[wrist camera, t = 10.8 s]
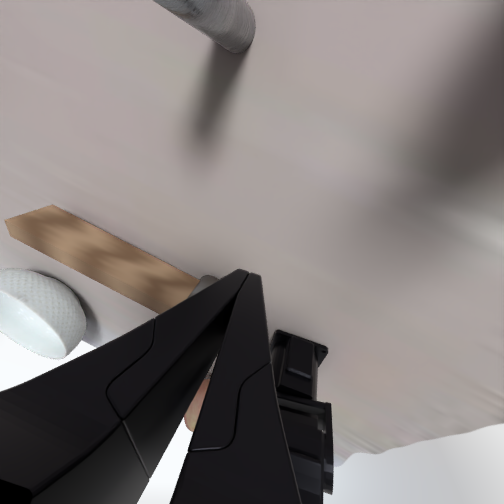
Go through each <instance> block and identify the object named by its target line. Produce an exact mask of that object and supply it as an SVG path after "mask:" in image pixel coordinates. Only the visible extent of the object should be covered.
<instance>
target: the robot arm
mask: <svg viewBox="0 0 504 504" xmlns="http://www.w3.org/2000/svg"><path fill="white" fill-rule="evenodd" d="M217 354H218V356H217ZM327 354H328V348H327V347H326V346H323V345H320V344H317V343H314V342H312V341H309V340H306V339H303V338H301V337H298V336H295V335H292V334H289V333H287V332H284V331H281V330H276V332H275V334H274V337H273V339H272V342H271V345H270V344H269V336H268V328H267V320H266V312H265V304H264V296H263V288H262V280H261V276H260V275H258V274H255V273H249V272H248V271H245V270H242V269H237V270H235V271H233V272H232V273H230V274H228V275H227V276H225V277H223V278H221V279H220V280H218V281H216V282H214V283H213V284H211V285H209V286H208V287H206V288H204V289H202V290H201V291H199V292H197V293H196V294H194V295H192V296H190V297H189V298H187V299H185V300H184V301H182V302H180V303H178V304H177V305H175V306H173V307H172V308H170V309H168V310H166V311H165V312H163V313H161V314H160V315H158V316H156V317H155V319H154V318H153V319H151V320H149V321H147V322H146V323H144V324H142V325H140V326H139V327H137V328H135V329H133V330H131V331H130V332H128V333H126V334H124V335H122V336H120V337H118V338H116V339H114V340H112V341H110V342H108V343H106V344H104V345H102V346H100V347H98V348H96V349H94V350H92V351H90V352H88V353H86V354H84V355H82V356H80V357H77V358H75V359H73V360H71V361H69V362H67V363H65V364H63V365H61V366H58V367H57V368H54V369H52V370H50V371H48V372H46V373H44V374H42V375H40V376H37V377H35V378H33V379H31V380H29V381H27V382H24V383H22V384H20V385H17V386H14V387H12V388H9V389H7V390H4V391H1V392H0V504H137V502H138V500H139V499H140V497H141V495H142V493H143V491H144V489H145V488H146V486H147V484H148V482H149V478H151V476H152V474H153V472H154V471H155V469H156V467H157V465H158V463H159V462H160V460H161V458H162V456H163V454H164V452H165V450H166V449H167V447H168V445H169V443H170V441H171V439H172V438H173V436H174V434H175V432H176V430H177V428H178V426H179V424H180V423H181V421H182V419H183V417H184V415H185V414H186V412H187V410H188V408H189V406H190V404H191V402H192V401H193V399H194V397H195V395H196V393H197V391H198V390H199V388H200V386H201V384H202V382H203V380H204V378H205V377H206V375H207V373H208V371H209V369H210V367H211V366H212V364H213V362H214V360H215V358H216V356H217V359H216V362H215V365H214V369H213V372H212V375H211V378H210V381H209V384H208V387H207V391H206V394H205V397H204V400H203V403H202V406H201V410H200V413H199V416H198V419H197V422H196V425H195V428H194V432H193V435H192V438H191V441H190V444H189V447H188V453H187V454H186V457H185V460H184V463H183V466H182V469H181V472H180V475H179V478H178V481H177V484H176V487H175V490H174V493H173V496H172V498H171V501H170V504H323V492H325V493H328V494H331V495H332V492H333V432H332V411H331V403H328V402H325V403H323V402H319V401H317V374H318V367H319V366H320V364H321V363H322V361H323V360H324V358H325V357H326V355H327ZM322 430H323V431H322Z"/></svg>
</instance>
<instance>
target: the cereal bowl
mask: <svg viewBox="0 0 504 504" xmlns="http://www.w3.org/2000/svg"><path fill="white" fill-rule="evenodd" d="M86 325H87V323H86V318H85V314H84V311H83V309H82V308H81V304H80V301H79V299H78V297H77V296H76V295H75V293H74V292H73V291H72V290H71V289H70V288H69V287H67V286H66V285H65V284H63V283H62V282H60V281H59V280H57V279H54V278H51V277H46V276H44V275H41V274H39V273H37V272H33V271H29V270H24V269H14V268H13V269H12V268H11V269H1V270H0V332H1V333H3V334H4V335H6V336H7V337H9V338H10V339H11V340H13V341H14V342H16V343H18V344H19V345H21V346H23V347H24V348H26V349H28V350H30V351H32V352H34V353H36V354H38V355H41V356H43V357H47V358H50V359H63V358H65V357H66V356H67V355H68V354H70V352H71V351H72V350H73V349H74V348H75V347H76V346H77V345H78V344H79V342H80V341H81V340H82V338H83V336H84V334H85V331H86Z"/></svg>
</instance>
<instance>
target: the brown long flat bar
mask: <svg viewBox="0 0 504 504" xmlns="http://www.w3.org/2000/svg"><path fill="white" fill-rule="evenodd" d="M5 223H6V226H7V228H8V231H9V234H10V236H11V237H13V238H15V239H17V240H19V241H21V242H22V243H24V244H26V245H28V246H30V247H32V248H34V249H36V250H38V251H40V252H42V253H43V254H45V255H47V256H49V257H51V258H53V259H55V260H57V261H59V262H61V263H63V264H65V265H66V266H68V267H70V268H72V269H74V270H76V271H78V272H80V273H82V274H84V275H86V276H88V277H89V278H91V279H93V280H95V281H97V282H99V283H101V284H103V285H105V286H107V287H109V288H110V289H112V290H114V291H116V292H118V293H120V294H122V295H124V296H126V297H128V298H130V299H132V300H133V301H135V302H137V303H139V304H141V305H143V306H145V307H147V308H149V309H151V310H153V311H155V312H156V313H158V314H161V313H163V312H165V311H166V310H168V309H170V308H172V307H173V306H175V305H177V304H178V303H180V302H182V301H184V300H185V299H187V298H189V297H190V296H192V295H194V294H196V293H197V292H199V291H201V290H202V289H204V288H206V287H208V286H209V285H211V284H213V283H214V282H216V281H218V279H217V278H215V277H213V276H210V275H206V276H203V277H202V278H201V279H200V280H198V279H196V278H194V277H192V276H190V275H188V274H186V273H184V272H183V271H181V270H179V269H177V268H175V267H173V266H171V265H169V264H167V263H165V262H163V261H161V260H159V259H157V258H155V257H153V256H151V255H150V254H148V253H146V252H144V251H142V250H140V249H138V248H136V247H134V246H132V245H130V244H128V243H126V242H124V241H122V240H120V239H119V238H117V237H115V236H113V235H111V234H109V233H107V232H105V231H103V230H101V229H99V228H97V227H95V226H93V225H91V224H89V223H87V222H86V221H84V220H82V219H80V218H78V217H76V216H74V215H72V214H70V213H68V212H66V211H64V210H62V209H60V208H58V207H56V206H54V205H50V206H47V207H44V208H41V209H38V210H34V211H31V212H28V213H25V214H22V215H19V216H16V217H13V218H10V219H7V220H5Z"/></svg>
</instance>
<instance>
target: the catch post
mask: <svg viewBox="0 0 504 504" xmlns="http://www.w3.org/2000/svg"><path fill="white" fill-rule="evenodd" d="M153 1H155V2H156V3H158V4H159V5H161V6H162V7H164V8H165V9H167V10H168V11H170V12H171V13H173V14H174V15H176V16H177V17H179V18H180V19H182V20H183V21H185V22H186V23H188V24H189V25H191V26H192V27H194V28H195V29H197V30H198V31H200V32H201V33H203V34H204V35H206V36H207V37H209V38H210V39H212V40H213V41H215V42H216V43H218V44H219V45H221V46H222V47H224V48H225V49H227V50H228V51H230V52H232V53H241V52H243V51H245V50H246V49H247V48H248V47H249V45H250V44H251V42H252V40H253V37H254V33H255V18H254V14H253V11H252V9H251V7H250V6H249V4H248V3H247V2H246V0H153Z"/></svg>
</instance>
